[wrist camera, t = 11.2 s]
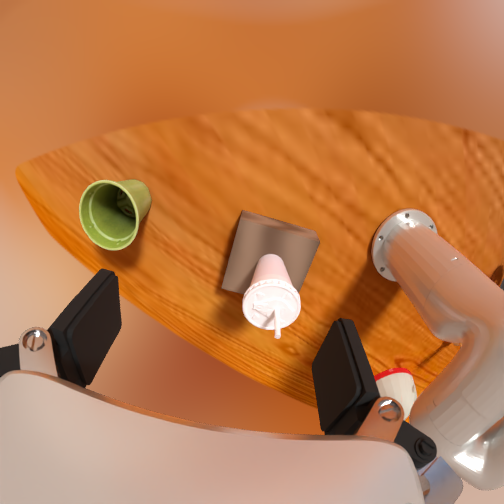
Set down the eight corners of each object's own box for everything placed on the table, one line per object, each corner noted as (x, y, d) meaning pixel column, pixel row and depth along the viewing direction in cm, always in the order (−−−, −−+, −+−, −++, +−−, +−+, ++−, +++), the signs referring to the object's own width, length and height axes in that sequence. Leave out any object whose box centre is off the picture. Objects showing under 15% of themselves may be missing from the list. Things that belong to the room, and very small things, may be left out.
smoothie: (288, 288, 39) (296, 360, 27) (244, 282, 39) (234, 353, 27) (298, 248, 37) (313, 313, 24) (250, 241, 36) (242, 304, 24)
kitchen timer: (364, 407, 60) (375, 453, 46) (355, 382, 55) (368, 436, 41) (411, 387, 56) (428, 431, 43) (409, 359, 51) (431, 409, 38)
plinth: (315, 231, 40) (320, 242, 36) (290, 291, 44) (292, 306, 41) (242, 210, 39) (240, 219, 35) (224, 274, 43) (221, 288, 40)
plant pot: (172, 185, 38) (148, 200, 30) (149, 237, 41) (126, 262, 33) (121, 158, 36) (89, 168, 28) (103, 211, 40) (73, 230, 32)
